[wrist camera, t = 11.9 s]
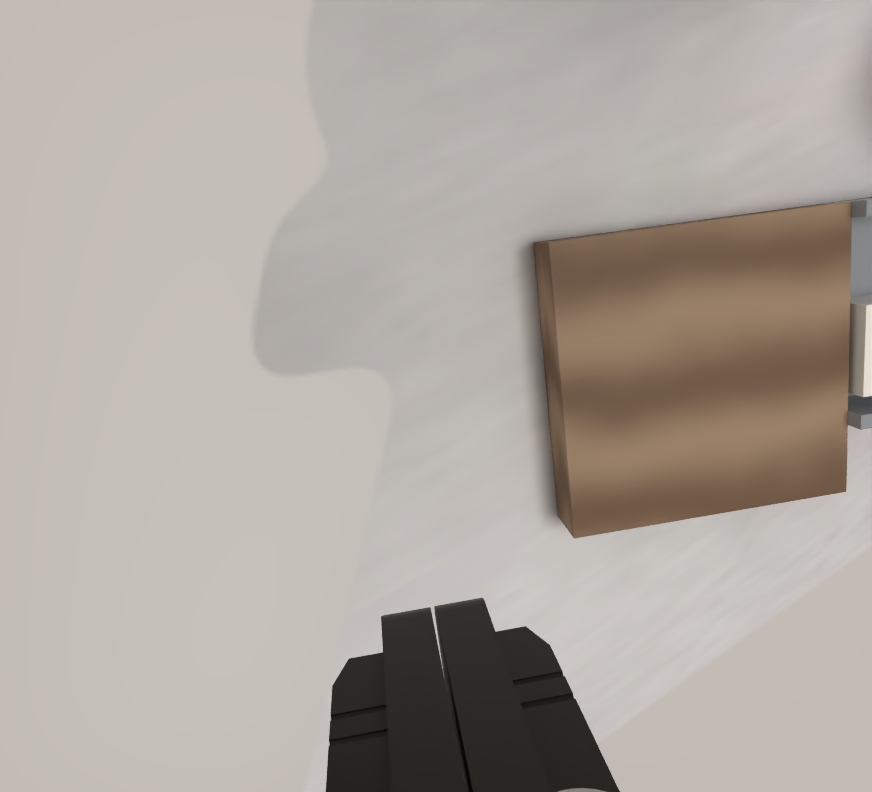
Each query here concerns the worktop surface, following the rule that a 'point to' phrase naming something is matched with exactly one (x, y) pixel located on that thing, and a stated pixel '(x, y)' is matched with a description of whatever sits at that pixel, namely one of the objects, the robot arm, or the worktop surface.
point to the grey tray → (860, 292)
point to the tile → (860, 346)
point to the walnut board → (697, 365)
